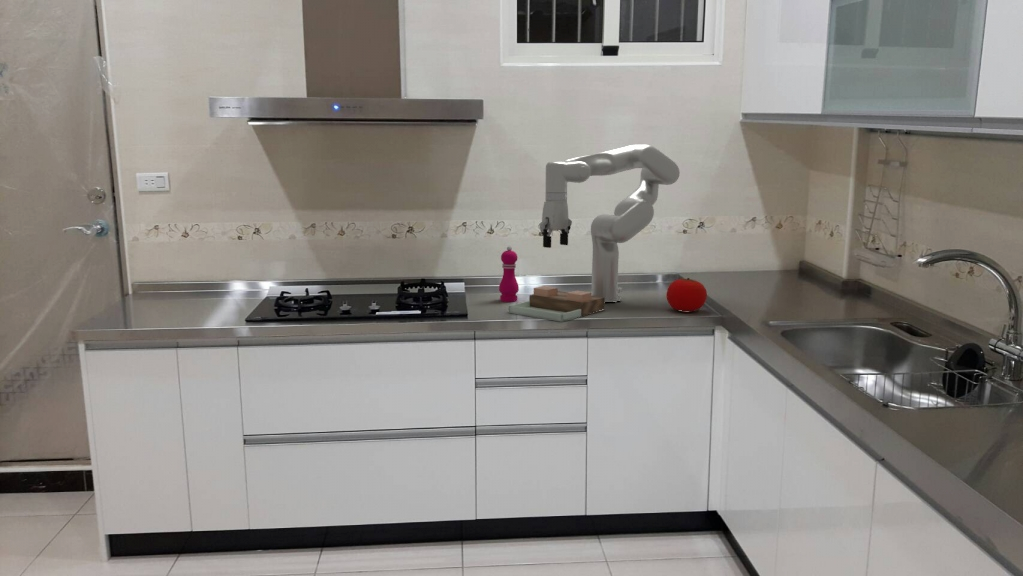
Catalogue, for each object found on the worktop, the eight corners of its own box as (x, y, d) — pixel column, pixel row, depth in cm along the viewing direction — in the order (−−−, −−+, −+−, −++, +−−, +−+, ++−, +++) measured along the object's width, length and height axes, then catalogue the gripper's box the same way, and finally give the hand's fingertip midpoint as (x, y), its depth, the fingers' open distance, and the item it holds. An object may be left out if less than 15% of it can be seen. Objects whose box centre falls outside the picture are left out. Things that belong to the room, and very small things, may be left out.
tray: (528, 308, 279) (528, 301, 279) (581, 316, 266) (581, 309, 265) (508, 312, 271) (508, 305, 270) (562, 321, 257) (562, 314, 257)
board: (552, 302, 290) (552, 290, 290) (604, 310, 277) (604, 297, 276) (529, 307, 279) (529, 295, 279) (581, 316, 266) (582, 303, 265)
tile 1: (543, 292, 284) (543, 285, 283) (557, 294, 280) (557, 287, 279) (533, 295, 279) (533, 288, 278) (547, 297, 275) (547, 290, 275)
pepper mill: (495, 301, 291) (495, 246, 288) (504, 298, 297) (505, 244, 294) (512, 303, 288) (513, 247, 284) (521, 299, 294) (522, 245, 291)
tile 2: (576, 297, 275) (576, 290, 275) (591, 299, 271) (591, 292, 271) (566, 300, 270) (566, 292, 270) (581, 302, 267) (581, 295, 266)
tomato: (662, 307, 284) (664, 274, 282) (700, 307, 284) (702, 275, 282) (670, 314, 271) (671, 280, 269) (710, 315, 271) (712, 281, 269)
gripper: (562, 195, 288) (561, 243, 291) (532, 198, 275) (531, 247, 278) (579, 196, 283) (578, 244, 286) (549, 199, 270) (548, 249, 273)
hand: (555, 246), depth 282 cm, fingers open, 9 cm apart
